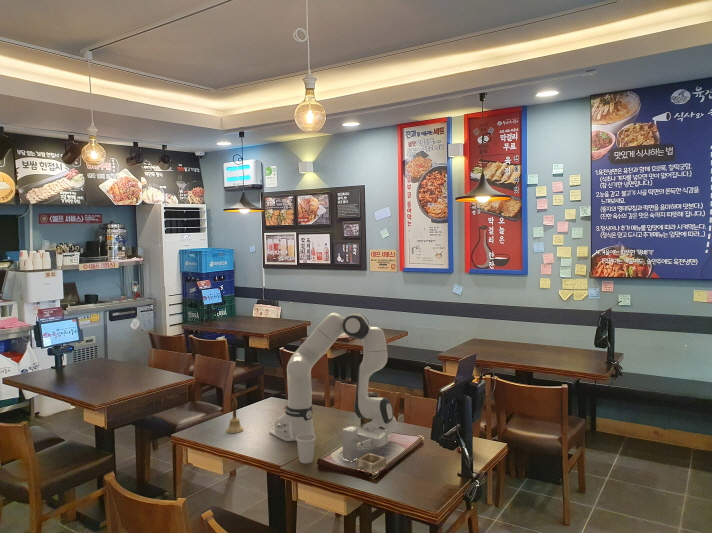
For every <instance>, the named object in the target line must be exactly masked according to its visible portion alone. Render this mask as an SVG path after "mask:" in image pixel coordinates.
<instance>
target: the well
mask: <svg viewBox="0 0 712 533" xmlns="http://www.w3.org/2000/svg"><path fill="white" fill-rule="evenodd" d="M385 466H386V467H387V457H384V456H380V455H378V454H374V453H370V452H368V453H365V454H364V455H362V456H361V457H358V459H357V460H356V469H360V470H364V471H367V472H369V473H375V472H377V471H379V470H380V469H381V468H383V467H385Z"/></svg>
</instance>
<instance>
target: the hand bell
mask: <svg viewBox="0 0 712 533" xmlns="http://www.w3.org/2000/svg"><path fill="white" fill-rule="evenodd" d="M231 409H232V418H231V419H229V425H228V427H227V428H226V429H225V430H226V431H225V432H226V433H228V434H238V433H241V432H243V431H244V427H243V426H242V425H241V423H240V421H241V420H240V418H238V417H237V409H238V400H237V397H233V398H232V402H231Z"/></svg>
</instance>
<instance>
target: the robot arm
mask: <svg viewBox="0 0 712 533" xmlns="http://www.w3.org/2000/svg"><path fill="white" fill-rule="evenodd" d="M343 334H345V335H346V336H348V337H351V338H354V339H359V340H361V343H362V349H363V350H362V351H363V357H362V361H361V362H360V363H359V365H358V368H357V377H356V392H355V401H354V404H353V411H354V413H355V415H356V416H357V418H359V419H360V420H361V419H373V420H372V421H371V422H369V423H367V424H365V425H364V426H363V427H361V426H355V425H352V426H350V425H349V427H353V428H357V429H358V443H360V446H362V447H365V446H372V447H375V448H376V447H377V448H382V447H383V446H384V445H387V444H388V442H389V436H390V435H391V434H392V433H394V432H395V430H396V428H397V425H398V424H397V419H396V417H395V416H394V408H393V404H392V403H391V402H392V401H391V400H389V399H388V398H387V397H368V392H369V380H370V377H371V376H372V375H373V374H374V373H376V372H378V371H380V370H382V369H383V368H384V367H385V366H386V364H387V362H388V358H389V357H388V356H389V355H388V347H387V340H386V336H385V331H384V330H383V329H382V328H381V327H379V326H371V325H370V324H369V320H368V318H367V316H365V315H363V313H358V312H356V313H355V312H354V313H351V314H348V315H347V316H345V317H344V316H342V315H341V314H339V313H338V312H337V313H336V312H331V313H329V314H328V315H327V316H325V318H323V320H322V321H321V322H319V324H318V325H317V326H316V327H315V328H314V330H312V332H311V333H310V335H309V336H308V337H307V338H306V339H305V340H304V341H303V342H302V343H301V345H300V346H299V347H298V348H297V349H296V350H295V351H294V352H293V354H292V355H291V356H290V358H289V360H288V363H287V366H286V376H287V377H286V378H287V379H286V380H287V399H288V400H287V405H285V407H283V410H285V411H284V413H283V414H282V415H280V416H279V417H278V418H277V419H276V420H275V422H274V427H273V428H271V429H270V430H269V434H270V435H272V436H274V437H276V438H279V439H281V440H283V441H285V442H291V441H292V442H293V441H297V439H296V437H297V436H298V435H300V434H313V435H315V436H316V434H315V429H314V423H313V422H314V421H313V404H312V403H313V402H312V401H313V400H312V397H313V396H312V395H313V394H312V373H311V372H312V369H313V367H314V366H315V364H316V363H317V362H318V361H319V360H320V359H321V358H322V357H323V356H324V355H325V354H326V353H327V352H328V351H329V349H330V348H331V347H332V346H333V344H335V342H336V340H338V339H339V337H340V336H341V335H343ZM345 428H346V427H344V428H343V429H345ZM343 429H342V431H341V436H342V437H343Z"/></svg>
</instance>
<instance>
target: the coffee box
mask: <svg viewBox="0 0 712 533" xmlns="http://www.w3.org/2000/svg"><path fill="white" fill-rule="evenodd" d="M379 394H380V393H379V391H378V392H377V391H368V397H379V396H380V395H379ZM372 420H373V419H360V428H362V427H363V426H364V425H365V424H367V423H369V422H371V421H372Z"/></svg>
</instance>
